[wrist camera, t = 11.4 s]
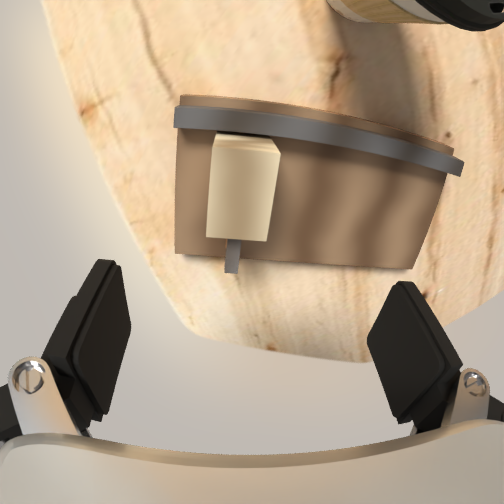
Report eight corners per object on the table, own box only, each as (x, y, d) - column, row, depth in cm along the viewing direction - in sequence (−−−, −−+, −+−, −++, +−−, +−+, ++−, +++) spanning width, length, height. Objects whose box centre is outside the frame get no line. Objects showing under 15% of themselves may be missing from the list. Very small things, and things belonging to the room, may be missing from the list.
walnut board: (442, 143, 25) (466, 154, 22) (404, 259, 32) (420, 280, 29) (184, 94, 22) (175, 97, 19) (177, 242, 29) (171, 265, 26)
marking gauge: (269, 135, 22) (280, 153, 17) (253, 246, 28) (258, 288, 23) (217, 130, 22) (212, 146, 17) (208, 243, 27) (203, 285, 22)
